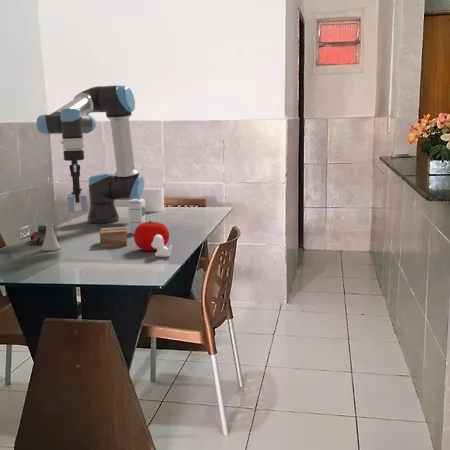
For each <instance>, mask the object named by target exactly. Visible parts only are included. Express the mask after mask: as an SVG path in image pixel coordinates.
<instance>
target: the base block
mask: <svg viewBox="0 0 450 450" xmlns="http://www.w3.org/2000/svg"><path fill="white" fill-rule="evenodd" d="M127 235H128V234H127V226H118V227H117V226H116V227H115V226H114V227H101V228H100V230H99V241H100V248H110V247H111V248H113V247H115V248H117V247H128V236H127Z"/></svg>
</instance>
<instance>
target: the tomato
mask: <svg viewBox="0 0 450 450" xmlns="http://www.w3.org/2000/svg"><path fill="white" fill-rule="evenodd" d="M157 234H158V235H161V236H162V237H163V240H164V246H165V247H166V245H167V244H168V242H169V239H170V231H169V229H168V227H167V225H165V224H164V223H162V222H159V221H152V220H149V221H146V222H144V223H142V224H140V225H139V226H138V227H137V228H136V230H135V233H134V234H133V240H134V243H135V245H136V246H137V247H138V248H139V249H140V250H142V251H147V252H154V251H157V248H156V249H155V248H153V247H152V244H151V243H152V242H153V240H154V236H155V235H157Z"/></svg>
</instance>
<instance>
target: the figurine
mask: <svg viewBox="0 0 450 450" xmlns="http://www.w3.org/2000/svg"><path fill="white" fill-rule="evenodd" d="M151 244H152V247H153V248H155V249H156V248H157V250H156V252H155V254H154V255H155V257H158V258H167V257H169V256H170V255H171V252H172V250H173V245H169V246H168V247H167V246H166V245H165V246H164V240H163V237H162V236H161V235H158V234H157V235H155V236H154V240H153V242H152V243H151Z"/></svg>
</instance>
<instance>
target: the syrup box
mask: <svg viewBox="0 0 450 450" xmlns="http://www.w3.org/2000/svg"><path fill="white" fill-rule="evenodd" d="M127 201H128V202H127V204H128V217H129V218H128V219H129V220H128V221H129V231H130V234H133V235H134V233H135V230H136V228H137V227H138V226H139V225H140V224H142V223H144V222H147V212H146V210H145V199H142V198H139V199H133V200H127Z"/></svg>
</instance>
